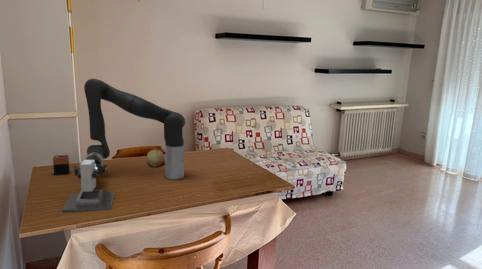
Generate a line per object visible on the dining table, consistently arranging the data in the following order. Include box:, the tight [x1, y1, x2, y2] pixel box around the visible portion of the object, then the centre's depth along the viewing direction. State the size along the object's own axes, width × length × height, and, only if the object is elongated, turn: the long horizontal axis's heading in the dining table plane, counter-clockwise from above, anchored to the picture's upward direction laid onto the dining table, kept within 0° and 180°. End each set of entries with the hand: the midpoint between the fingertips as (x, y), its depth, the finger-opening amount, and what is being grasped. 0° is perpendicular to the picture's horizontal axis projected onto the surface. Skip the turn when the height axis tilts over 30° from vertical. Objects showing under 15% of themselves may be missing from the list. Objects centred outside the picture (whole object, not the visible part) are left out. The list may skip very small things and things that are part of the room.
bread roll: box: [146, 149, 165, 168], centre depth 198 cm, size 10×15×8 cm, turn 19°
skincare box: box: [79, 159, 97, 192], centre depth 143 cm, size 6×4×12 cm
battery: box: [52, 153, 70, 176], centre depth 175 cm, size 4×7×10 cm, turn 111°
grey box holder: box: [61, 188, 115, 213], centre depth 145 cm, size 18×16×4 cm
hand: (86, 176), depth 140 cm, fingers closed on skincare box, 4 cm apart
